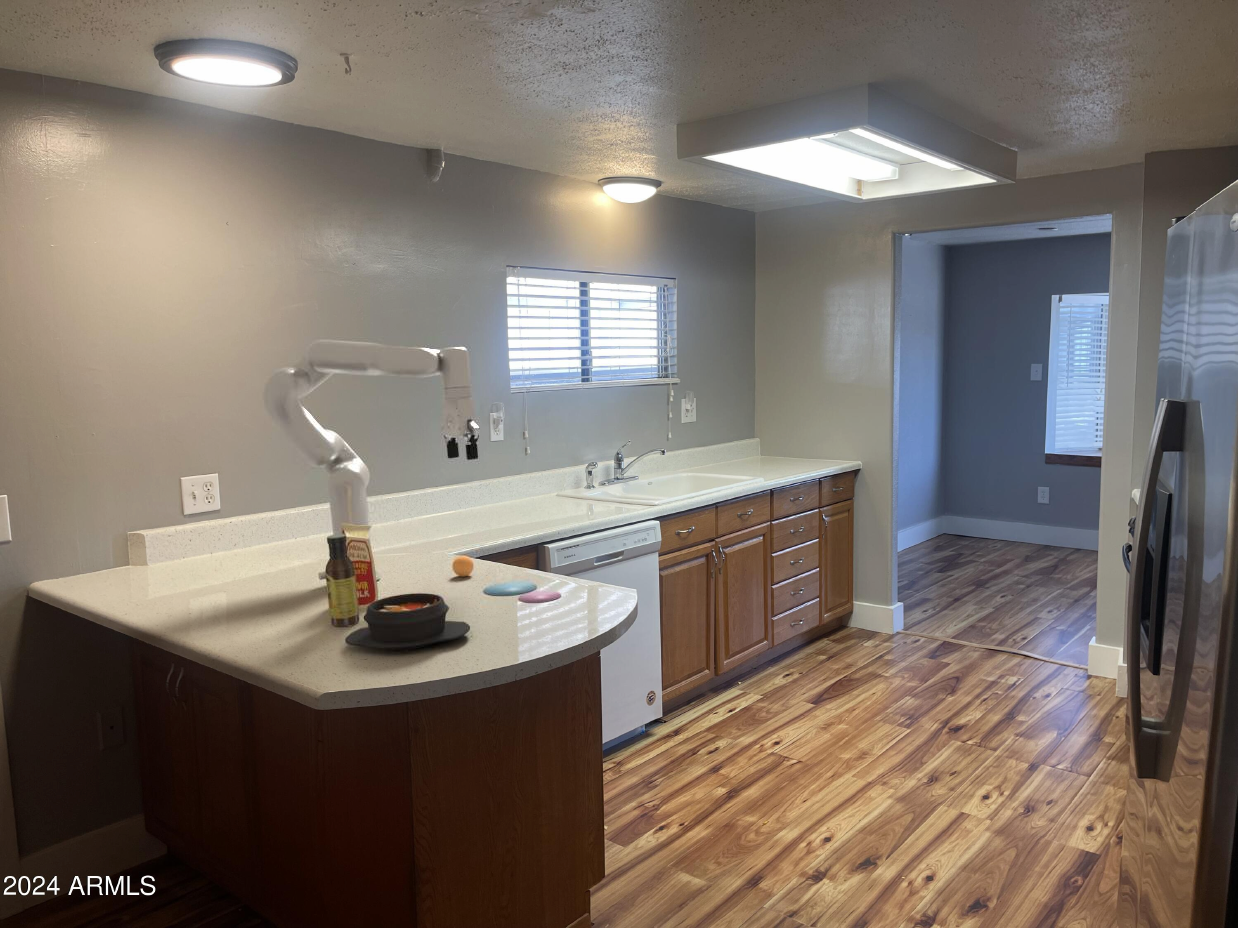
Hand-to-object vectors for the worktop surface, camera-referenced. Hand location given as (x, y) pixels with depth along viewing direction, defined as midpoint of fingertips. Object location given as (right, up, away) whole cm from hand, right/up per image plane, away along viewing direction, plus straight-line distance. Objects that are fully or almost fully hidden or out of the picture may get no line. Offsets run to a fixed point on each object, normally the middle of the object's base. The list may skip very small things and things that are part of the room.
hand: (462, 458), depth 246 cm
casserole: (-1, -38, -58) cm, 70 cm away
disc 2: (+23, -33, -28) cm, 49 cm away
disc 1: (+15, -32, -19) cm, 40 cm away
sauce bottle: (-19, -37, -42) cm, 59 cm away
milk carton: (-20, -35, -25) cm, 48 cm away
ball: (0, -28, -3) cm, 29 cm away
